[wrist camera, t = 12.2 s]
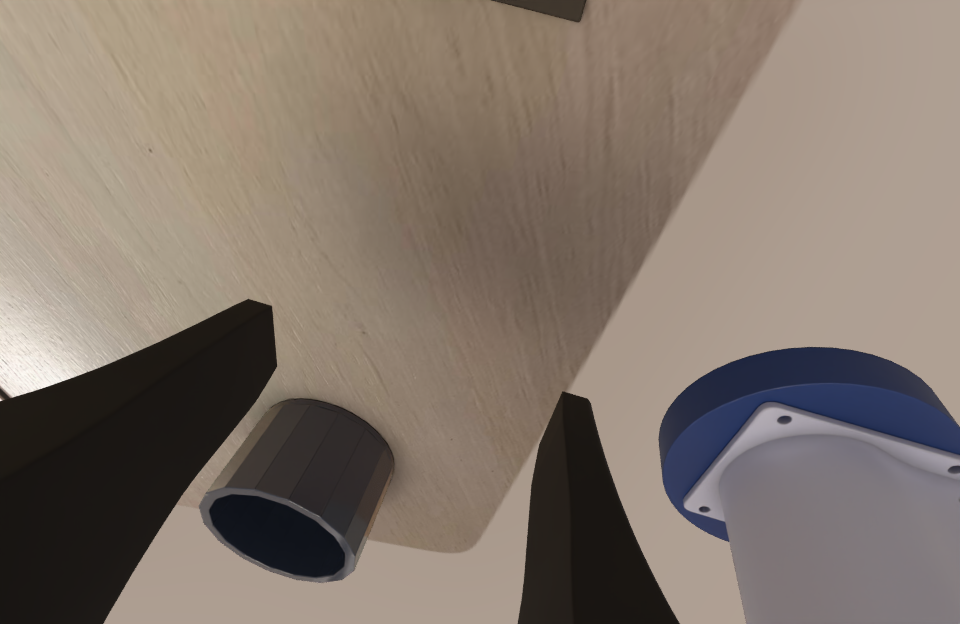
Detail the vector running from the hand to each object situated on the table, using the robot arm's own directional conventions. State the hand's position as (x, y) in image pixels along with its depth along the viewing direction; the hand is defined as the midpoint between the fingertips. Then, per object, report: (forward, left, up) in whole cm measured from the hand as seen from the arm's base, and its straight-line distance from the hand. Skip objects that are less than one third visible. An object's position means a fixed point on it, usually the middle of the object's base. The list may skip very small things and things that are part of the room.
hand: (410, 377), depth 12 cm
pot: (+7, +20, -10) cm, 24 cm away
